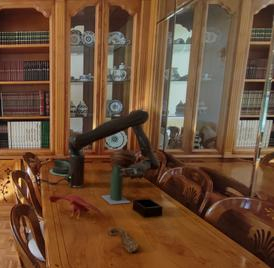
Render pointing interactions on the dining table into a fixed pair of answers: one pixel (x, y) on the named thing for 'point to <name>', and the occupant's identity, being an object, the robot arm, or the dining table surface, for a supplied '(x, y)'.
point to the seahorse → (126, 239)
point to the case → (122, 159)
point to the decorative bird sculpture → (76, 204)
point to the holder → (147, 207)
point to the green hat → (60, 167)
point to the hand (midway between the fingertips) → (123, 175)
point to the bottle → (116, 184)
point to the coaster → (112, 202)
